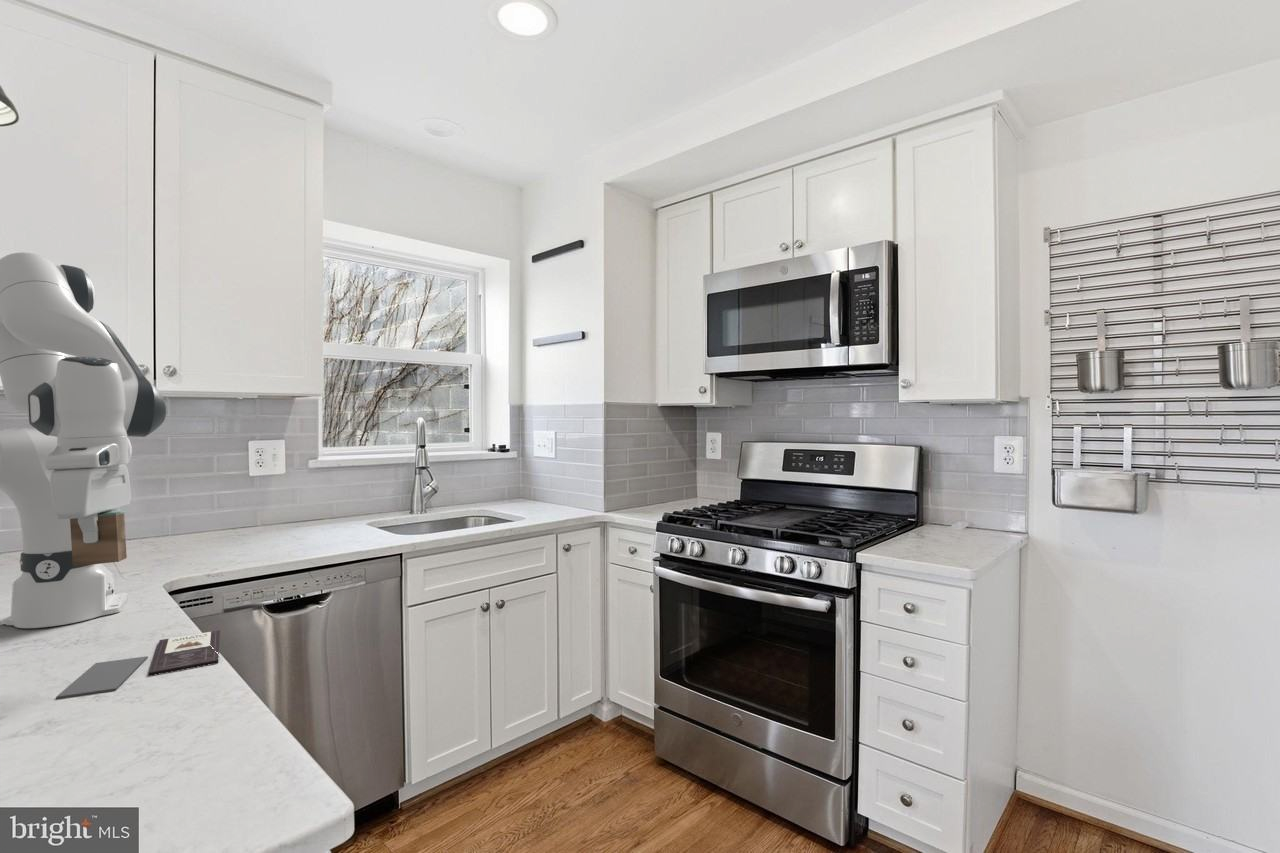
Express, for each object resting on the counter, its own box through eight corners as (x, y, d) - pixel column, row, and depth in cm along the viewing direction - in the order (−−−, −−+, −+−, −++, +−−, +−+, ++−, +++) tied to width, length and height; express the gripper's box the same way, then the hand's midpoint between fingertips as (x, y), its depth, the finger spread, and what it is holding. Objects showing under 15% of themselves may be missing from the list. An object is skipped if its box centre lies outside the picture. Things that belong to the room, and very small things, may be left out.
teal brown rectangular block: (82, 562, 107) (79, 513, 107) (126, 557, 109) (123, 510, 109) (72, 566, 104) (69, 516, 104) (118, 561, 106) (115, 512, 106)
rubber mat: (95, 664, 106) (95, 662, 106) (147, 657, 108) (147, 656, 108) (56, 698, 93) (56, 696, 93) (116, 690, 95) (116, 688, 95)
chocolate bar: (148, 672, 101) (159, 640, 116) (149, 678, 101) (159, 645, 116) (218, 660, 106) (219, 630, 121) (218, 665, 106) (219, 635, 121)
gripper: (96, 454, 115) (100, 533, 115) (38, 458, 96) (43, 552, 96) (139, 452, 117) (143, 529, 117) (91, 456, 98) (96, 547, 98)
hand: (98, 540), depth 106 cm, fingers closed on teal brown rectangular block, 3 cm apart
